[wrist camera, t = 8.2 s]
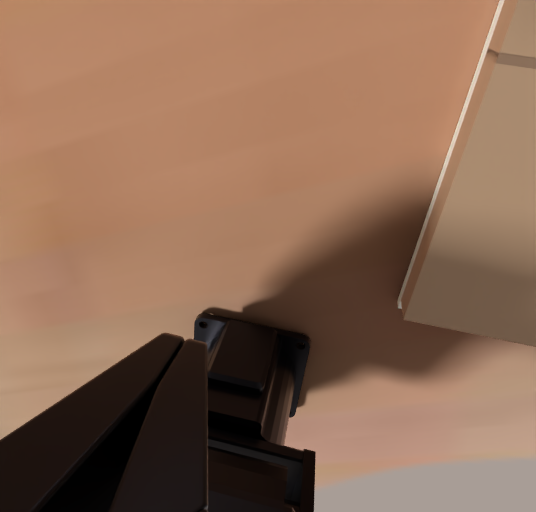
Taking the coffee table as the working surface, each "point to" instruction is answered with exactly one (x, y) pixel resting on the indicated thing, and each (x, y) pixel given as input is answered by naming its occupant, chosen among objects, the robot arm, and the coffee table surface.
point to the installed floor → (485, 199)
